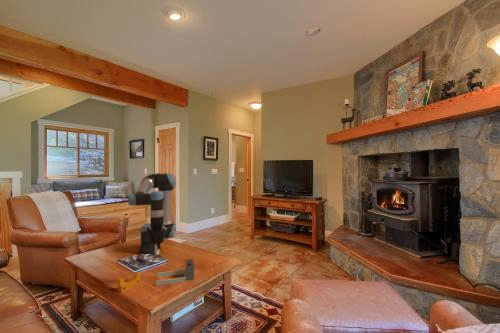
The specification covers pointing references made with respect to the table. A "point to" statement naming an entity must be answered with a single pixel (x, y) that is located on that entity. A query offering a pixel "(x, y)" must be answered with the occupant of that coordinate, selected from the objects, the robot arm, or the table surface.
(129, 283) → the pipe clamp
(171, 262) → the table surface
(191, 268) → the unit housing
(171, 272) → the frame
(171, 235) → the robot arm
